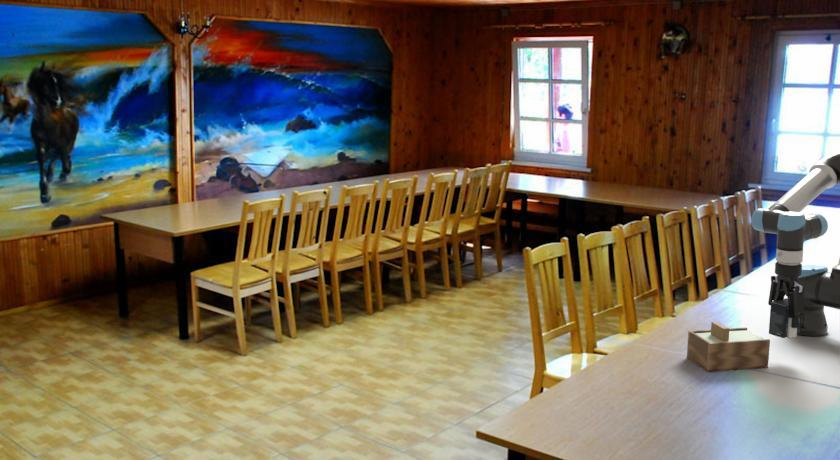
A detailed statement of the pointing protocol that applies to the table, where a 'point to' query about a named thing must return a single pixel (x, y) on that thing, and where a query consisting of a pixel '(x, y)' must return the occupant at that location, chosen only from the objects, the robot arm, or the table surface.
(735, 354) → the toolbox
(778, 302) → the box
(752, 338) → the lid
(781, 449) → the table surface
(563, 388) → the table surface
